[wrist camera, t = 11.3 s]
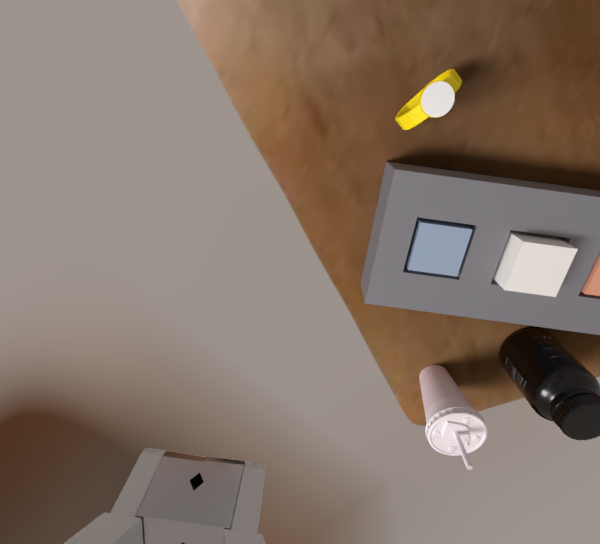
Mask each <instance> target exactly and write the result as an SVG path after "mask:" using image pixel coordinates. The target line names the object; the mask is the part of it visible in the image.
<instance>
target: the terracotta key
mask: <svg viewBox="0 0 600 544" xmlns="http://www.w3.org/2000/svg"><path fill="white" fill-rule="evenodd" d="M581 292H583V293H584V294H588V295H596V296H600V252H599V254H598V256H597V258H596V260H595V262H594V264H593V267H592V269H591V271H590V273H589V275H588V277H587V279H586V281H585V283H584V285H583V287H582V289H581Z"/></svg>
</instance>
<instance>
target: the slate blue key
mask: <svg viewBox="0 0 600 544" xmlns="http://www.w3.org/2000/svg"><path fill="white" fill-rule="evenodd" d="M472 230H473V229H471V228H470V227H469V226H468V225H467V224H462V223H455V222H448V221H440V220H433V219H426V218H418V217H417V220H416V224H415V228H414V232H413V236H412V240H411V243H410V247H409V251H408V255H407V259H406V262H405V265H406V267H407V269H408V270H412V271H419V272H427V273H434V274H442V275H449V276H456V277H457V276H458V273H459V270H460V267H461V264H462V261H463V258H464V255H465V252H466V248H467V245H468V242H469V239H470V236H471V233H472Z"/></svg>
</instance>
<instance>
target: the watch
mask: <svg viewBox="0 0 600 544" xmlns="http://www.w3.org/2000/svg"><path fill="white" fill-rule="evenodd" d="M461 84H462V80H461V78H460V77H459V75H458V74H457V72H456V71H455V70H454V69H449V70H447V71H445V72H444V73H442V74H440V75H439V76H438V77H436V78H435V79H434V80H432V81H431V82H430V83H428V84H427V85H426V86H425V87H424V88H423V89H422V90H421V91H420V92H419V93H418V94H417V95H416V96H414V97H413V98H412V99H411V100H410V101H409V102H408V103H407V104H406V105H404V107H403V108H402V109H401V110H400V111H399V112H398V114H397V116H396V118H395V120H396V121H397V122H398V123H399V125H400V126H401V127H402V129H403V130H409V129H411V128H413V127H415V126H417V125H418V124H420V123H421V122H423V121H424V120H425V119H427V118H428V117H433V118H438V117H441V116H443V115H445V114H446V113H448V111H449V110H450V109H451V108H452V106H453V104H454V99H455V95H454V94H455V93H456V91H457V90H458V89H459V88H460V86H461Z"/></svg>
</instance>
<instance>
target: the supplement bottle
mask: <svg viewBox="0 0 600 544" xmlns="http://www.w3.org/2000/svg"><path fill="white" fill-rule="evenodd" d="M499 359H500V362H501V364H502V366H503V368H504V369H505V370H506V372H507V373H508V375H509V376H510V377H511V379H512V380H513V382H514V383H515V384H516V386H517V387H518V389H519V390H520V391H521V393H522V394H523V396H524V397H525V398H526V400H527V401H528V402H529V404H530V405H531V407H532V408H533V409H534V410H535V411H536V413H537V414H539V415H540V416H541V417H543V418H545V419H547V420H550V421H554V422H555V423H556V424H557V426H559V427H560V429H561V430H562V431H563V433H564V434H565V435H567V436H568V437H570V438H572V439H576V440H587V439H592V438H596V437H598V436H600V386H599V383H598V381H597V379H596V378H595V377H594V376H593V375H592V374H591V373H590V372H589V371H588V370H587V369H586V368H585V367H584V366H583V365H582V364H581V363H580V362H579V361H578V360H577V359H576V358H575V357H574V356H573V355H572V354H571V353H570V352H569V351H568V350H566V349H565V348H564V347H563V346H562V345H561V344H560V343H559V342H558V341H557V340H556V339H555V338H554V337H553V336H552V335H550V334H549V333H548V332H546V331H544V330H541V329H534V328H530V329H523V330H520V331H517V332H515V333H513V334H512V335H510V336H509V337H508V338H507V339H506V340H505V341H504V342H503V344H502V346H501V348H500V351H499Z"/></svg>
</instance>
